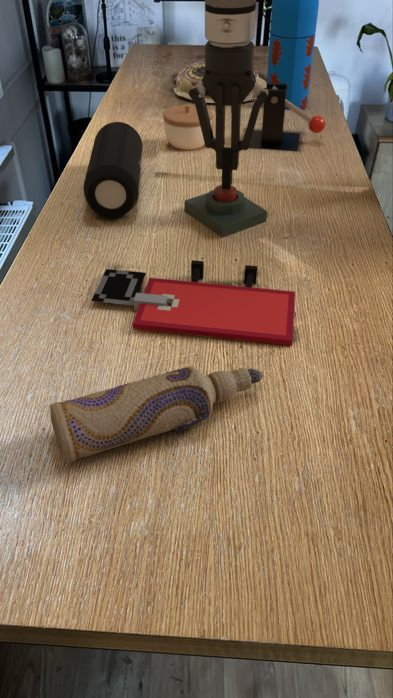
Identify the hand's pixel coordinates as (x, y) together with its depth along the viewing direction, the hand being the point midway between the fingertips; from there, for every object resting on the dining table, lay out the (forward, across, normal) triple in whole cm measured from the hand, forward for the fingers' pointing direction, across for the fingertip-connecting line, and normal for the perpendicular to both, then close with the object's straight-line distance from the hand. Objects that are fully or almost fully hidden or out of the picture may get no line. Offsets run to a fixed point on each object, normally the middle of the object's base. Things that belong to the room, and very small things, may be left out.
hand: (226, 185), depth 105 cm
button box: (+6, 0, 0) cm, 6 cm away
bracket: (+6, +5, +34) cm, 35 cm away
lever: (0, +9, +34) cm, 35 cm away
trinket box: (+6, -13, +30) cm, 33 cm away
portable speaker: (+6, -23, +6) cm, 24 cm away
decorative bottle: (+6, 0, -52) cm, 53 cm away
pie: (+6, -12, +71) cm, 73 cm away
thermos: (+6, +7, +61) cm, 62 cm away
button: (+2, 0, 0) cm, 2 cm away
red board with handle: (+6, -1, -28) cm, 28 cm away
